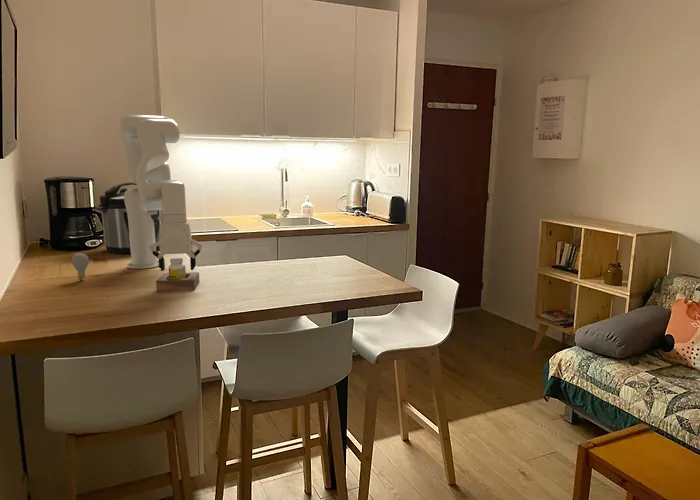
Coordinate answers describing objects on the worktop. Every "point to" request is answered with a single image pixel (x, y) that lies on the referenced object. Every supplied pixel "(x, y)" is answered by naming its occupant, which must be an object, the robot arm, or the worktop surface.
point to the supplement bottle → (177, 268)
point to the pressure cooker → (120, 220)
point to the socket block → (177, 282)
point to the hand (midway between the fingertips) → (177, 269)
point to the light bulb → (80, 264)
